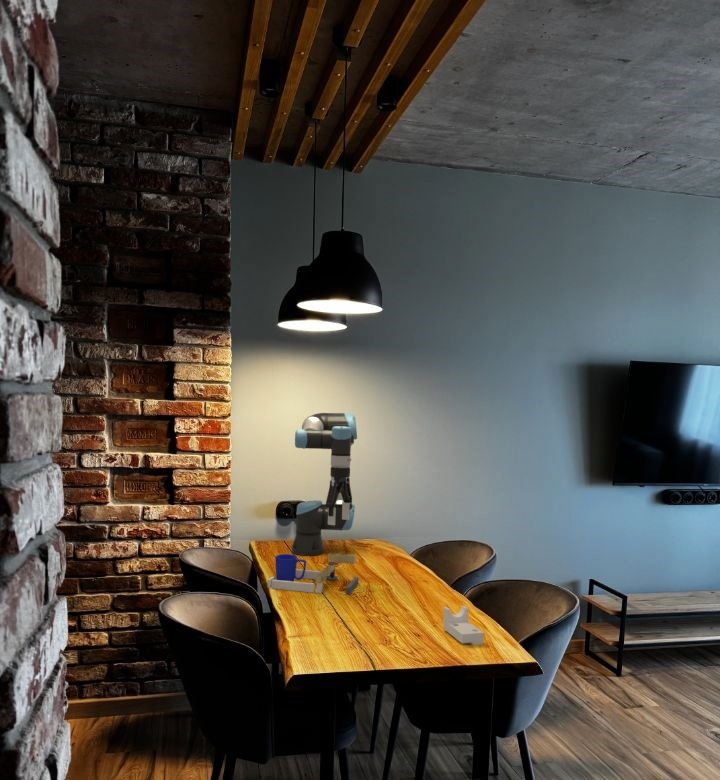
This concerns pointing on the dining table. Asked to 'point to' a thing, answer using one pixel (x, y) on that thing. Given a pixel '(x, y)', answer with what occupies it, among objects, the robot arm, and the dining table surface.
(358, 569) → the dining table surface
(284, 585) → the beige rectangular bars
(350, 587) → the kerb
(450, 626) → the bracket
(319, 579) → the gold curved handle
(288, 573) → the mug
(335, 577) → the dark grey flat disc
